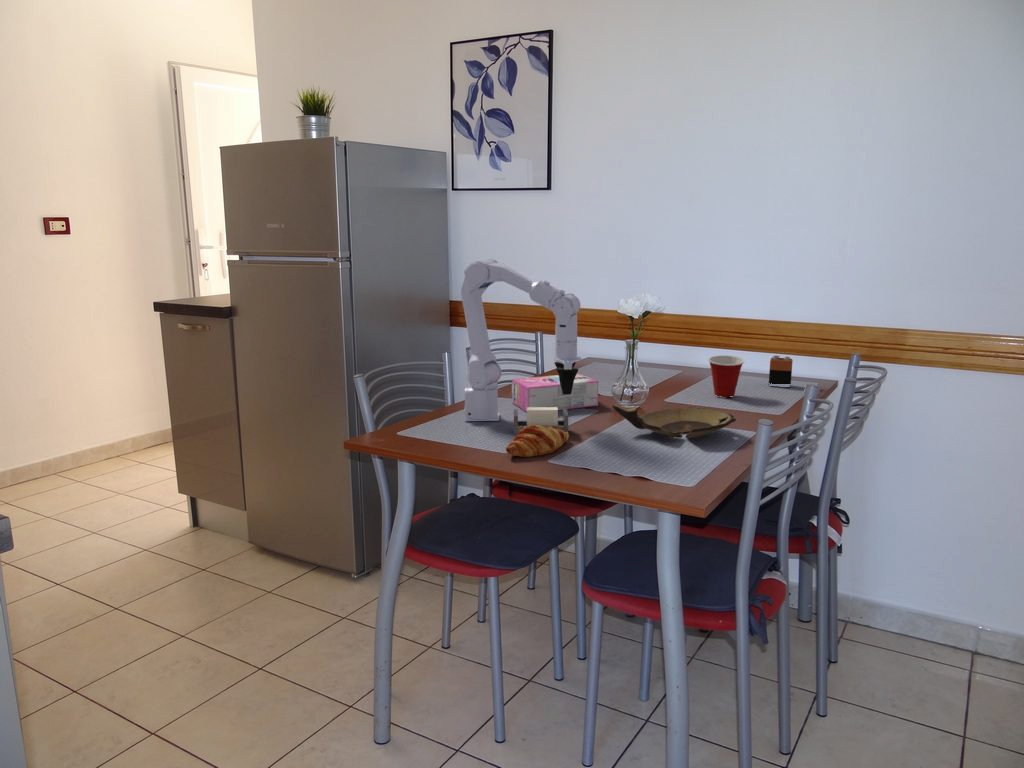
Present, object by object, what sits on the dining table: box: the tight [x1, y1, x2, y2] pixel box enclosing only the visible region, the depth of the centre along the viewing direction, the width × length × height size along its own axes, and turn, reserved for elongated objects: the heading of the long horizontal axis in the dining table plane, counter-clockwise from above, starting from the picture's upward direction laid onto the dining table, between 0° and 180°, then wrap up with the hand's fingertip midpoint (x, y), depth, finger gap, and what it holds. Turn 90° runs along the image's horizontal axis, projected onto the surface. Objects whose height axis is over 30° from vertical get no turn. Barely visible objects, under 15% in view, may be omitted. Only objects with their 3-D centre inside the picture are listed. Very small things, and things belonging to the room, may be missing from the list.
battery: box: [768, 355, 793, 385], centre depth 257 cm, size 4×7×10 cm, turn 68°
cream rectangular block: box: [526, 407, 559, 426], centre depth 205 cm, size 8×3×6 cm, turn 90°
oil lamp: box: [612, 404, 737, 439], centre depth 204 cm, size 22×30×8 cm
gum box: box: [511, 373, 599, 413], centre depth 235 cm, size 24×8×14 cm
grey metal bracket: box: [513, 408, 569, 438], centre depth 205 cm, size 14×7×6 cm, turn 90°
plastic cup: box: [708, 355, 745, 397], centre depth 244 cm, size 11×11×12 cm
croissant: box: [505, 425, 570, 458], centre depth 191 cm, size 21×10×8 cm, turn 136°
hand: (565, 391), depth 209 cm, fingers open, 7 cm apart
